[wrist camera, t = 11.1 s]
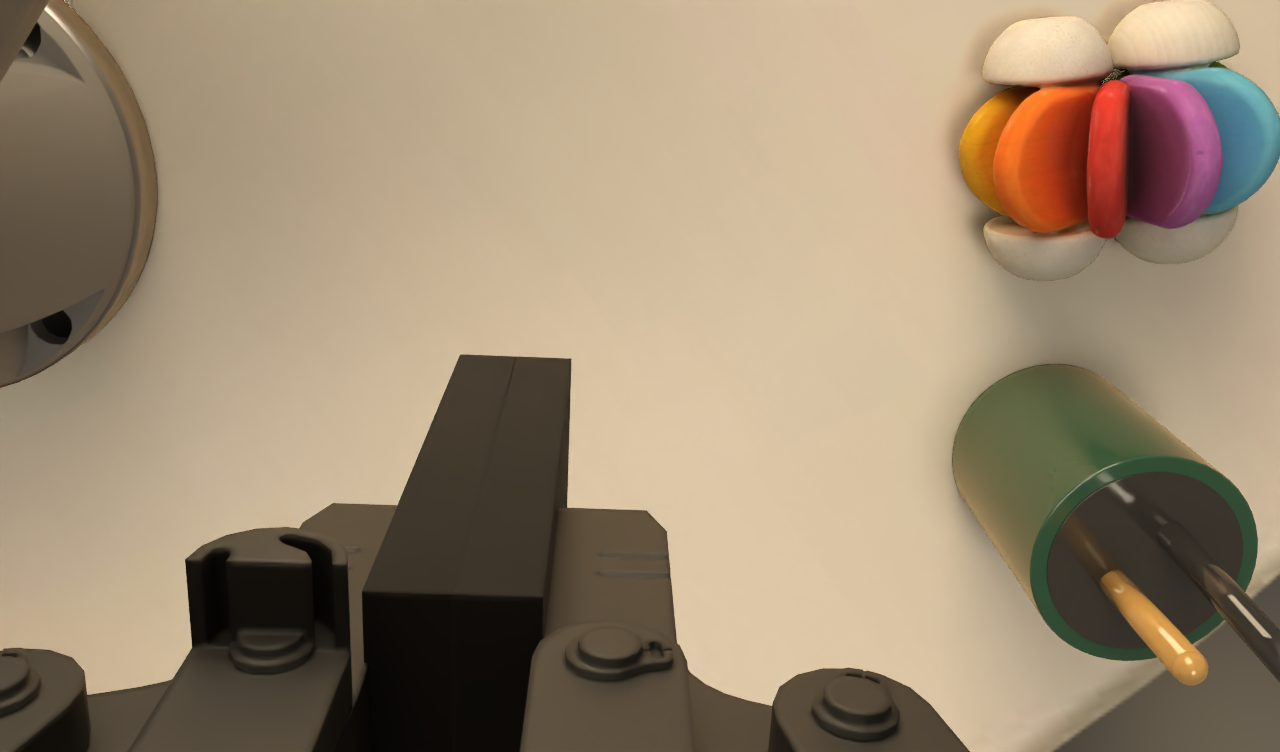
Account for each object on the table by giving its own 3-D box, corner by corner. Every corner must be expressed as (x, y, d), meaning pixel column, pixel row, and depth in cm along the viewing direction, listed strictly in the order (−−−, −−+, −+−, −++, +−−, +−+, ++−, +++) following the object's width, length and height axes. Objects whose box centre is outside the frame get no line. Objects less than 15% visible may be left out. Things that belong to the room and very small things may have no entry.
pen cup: (940, 532, 46) (1105, 813, 31) (964, 360, 44) (1156, 568, 28) (1119, 538, 46) (1373, 821, 31) (1152, 367, 44) (1443, 577, 29)
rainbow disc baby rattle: (940, 26, 40) (1008, 36, 33) (1229, -12, 40) (1357, -9, 33) (951, 270, 43) (1015, 326, 36) (1221, 236, 43) (1338, 286, 36)
